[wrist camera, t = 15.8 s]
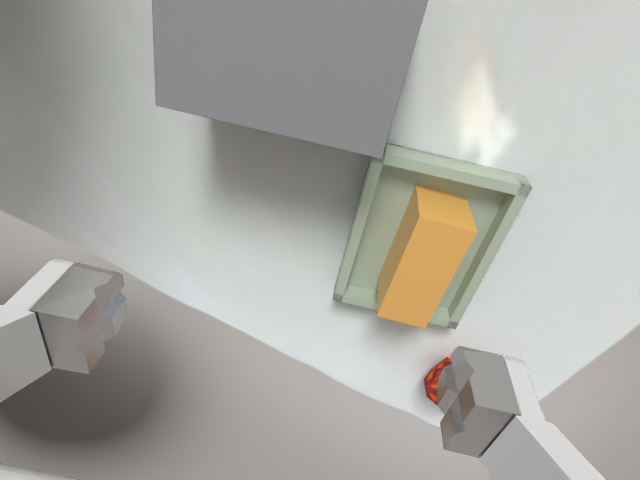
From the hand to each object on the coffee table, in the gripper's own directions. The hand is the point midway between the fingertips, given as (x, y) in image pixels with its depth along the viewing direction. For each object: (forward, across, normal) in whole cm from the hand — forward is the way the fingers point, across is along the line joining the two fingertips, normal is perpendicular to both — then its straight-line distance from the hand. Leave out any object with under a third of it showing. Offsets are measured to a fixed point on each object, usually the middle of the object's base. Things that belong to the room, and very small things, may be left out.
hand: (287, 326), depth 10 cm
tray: (+30, -11, +16) cm, 35 cm away
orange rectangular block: (+29, -11, +16) cm, 35 cm away
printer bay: (+30, +4, -1) cm, 31 cm away
